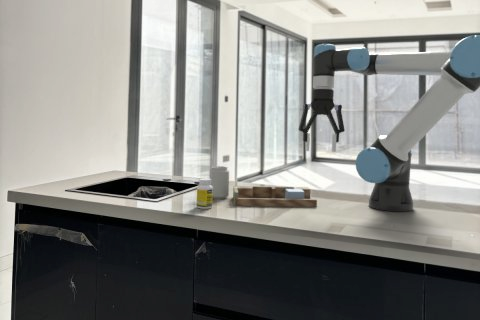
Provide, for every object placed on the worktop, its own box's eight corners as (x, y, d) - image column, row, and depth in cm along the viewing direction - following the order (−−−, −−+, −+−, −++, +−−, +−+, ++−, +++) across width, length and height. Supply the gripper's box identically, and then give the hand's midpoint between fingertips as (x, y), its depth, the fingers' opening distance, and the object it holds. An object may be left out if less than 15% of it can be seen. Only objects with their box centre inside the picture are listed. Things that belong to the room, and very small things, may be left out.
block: (300, 202, 158) (301, 189, 158) (303, 205, 152) (304, 191, 152) (284, 201, 158) (285, 188, 157) (287, 205, 152) (288, 191, 151)
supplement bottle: (208, 209, 140) (208, 180, 139) (193, 208, 142) (194, 179, 141) (214, 206, 145) (215, 178, 144) (200, 205, 147) (201, 177, 146)
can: (226, 199, 158) (226, 168, 157) (206, 198, 160) (207, 167, 159) (230, 196, 166) (231, 166, 165) (212, 195, 167) (212, 165, 166)
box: (307, 198, 165) (307, 187, 165) (316, 206, 149) (317, 194, 149) (233, 197, 164) (233, 185, 163) (234, 205, 148) (234, 193, 147)
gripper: (349, 90, 156) (346, 151, 158) (291, 88, 154) (289, 149, 157) (356, 88, 148) (353, 152, 150) (295, 87, 147) (292, 151, 149)
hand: (320, 151), depth 153 cm, fingers open, 9 cm apart
